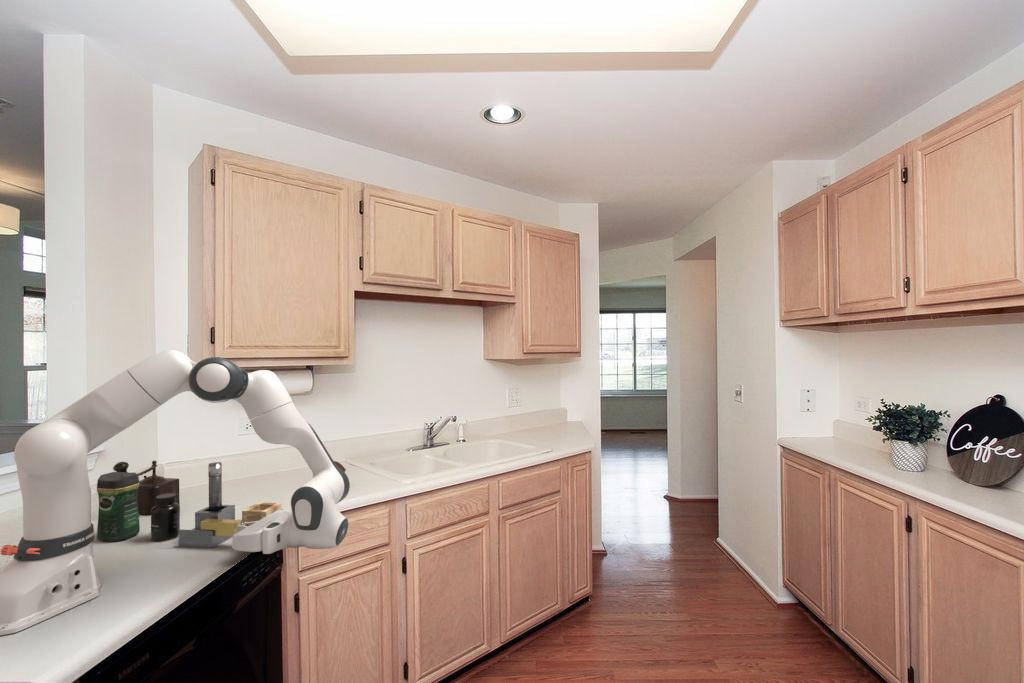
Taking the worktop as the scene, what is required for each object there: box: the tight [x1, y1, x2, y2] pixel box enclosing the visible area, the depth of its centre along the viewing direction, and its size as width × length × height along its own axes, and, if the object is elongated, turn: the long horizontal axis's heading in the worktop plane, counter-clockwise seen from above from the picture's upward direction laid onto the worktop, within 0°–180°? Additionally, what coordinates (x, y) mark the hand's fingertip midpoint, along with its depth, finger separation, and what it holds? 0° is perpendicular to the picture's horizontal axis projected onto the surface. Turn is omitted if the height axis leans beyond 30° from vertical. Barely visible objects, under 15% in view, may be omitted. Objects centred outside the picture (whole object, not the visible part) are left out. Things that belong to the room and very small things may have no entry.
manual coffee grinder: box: [112, 460, 181, 516], centre depth 161 cm, size 16×11×18 cm
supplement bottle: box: [150, 493, 181, 543], centre depth 140 cm, size 7×7×12 cm
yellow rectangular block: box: [201, 519, 241, 536], centre depth 134 cm, size 2×10×4 cm, turn 83°
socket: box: [178, 504, 242, 549], centre depth 139 cm, size 12×10×8 cm
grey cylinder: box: [207, 461, 223, 512], centre depth 141 cm, size 3×3×18 cm
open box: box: [241, 502, 283, 523], centre depth 154 cm, size 8×8×4 cm
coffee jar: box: [96, 471, 141, 542], centre depth 141 cm, size 10×8×19 cm
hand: (240, 527), depth 133 cm, fingers closed
